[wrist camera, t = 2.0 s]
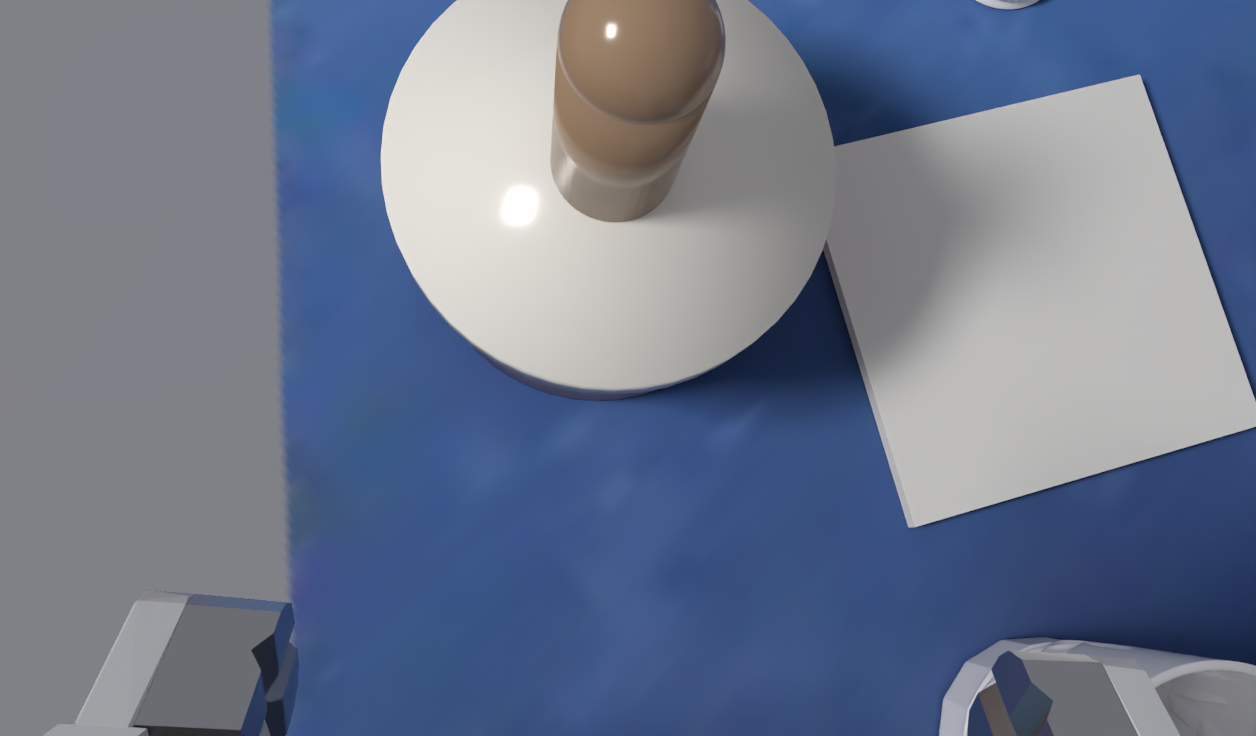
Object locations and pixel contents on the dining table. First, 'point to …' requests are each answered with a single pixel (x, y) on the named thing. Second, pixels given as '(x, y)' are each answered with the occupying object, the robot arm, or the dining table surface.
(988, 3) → the chess piece
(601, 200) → the lid
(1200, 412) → the mat
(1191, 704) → the white cup
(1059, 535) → the dining table surface
